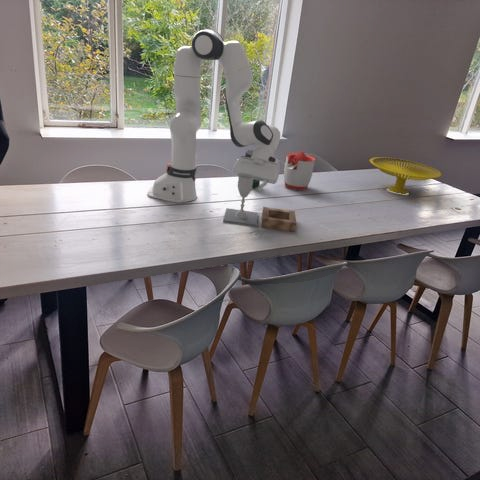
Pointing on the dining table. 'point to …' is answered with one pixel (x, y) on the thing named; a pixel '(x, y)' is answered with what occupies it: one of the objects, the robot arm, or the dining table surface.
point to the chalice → (244, 191)
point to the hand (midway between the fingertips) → (249, 186)
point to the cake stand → (403, 172)
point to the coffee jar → (255, 182)
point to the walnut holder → (278, 219)
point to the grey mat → (248, 221)
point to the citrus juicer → (298, 170)
